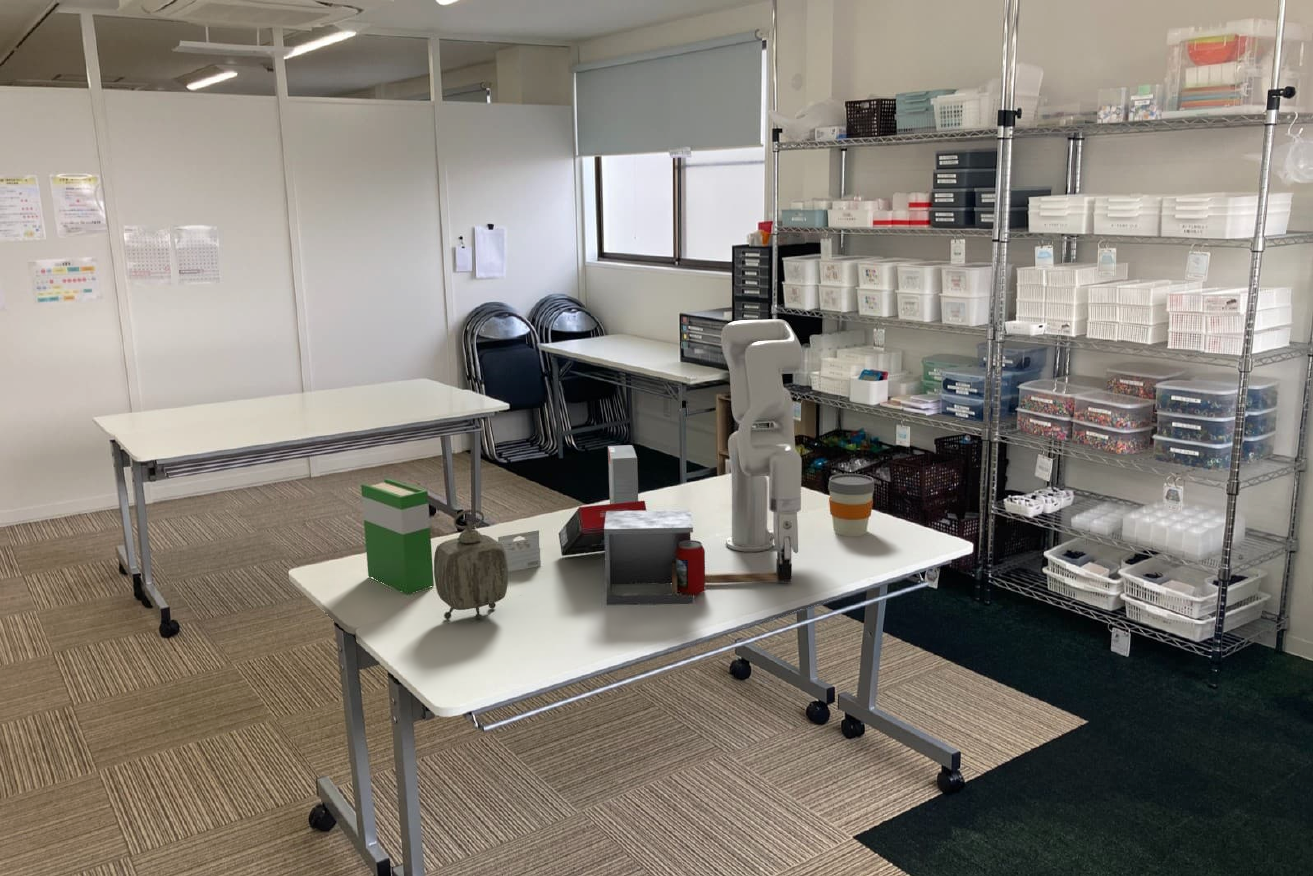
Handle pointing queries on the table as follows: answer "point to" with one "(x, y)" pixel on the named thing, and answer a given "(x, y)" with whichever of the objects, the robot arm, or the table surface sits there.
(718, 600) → the table surface
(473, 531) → the tabletop clock
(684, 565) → the beverage can
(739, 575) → the pull rod
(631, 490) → the hard drive box
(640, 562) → the shelf lane
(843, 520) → the reusable coffee cup
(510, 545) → the ink box
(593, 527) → the graphics card box
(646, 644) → the table surface
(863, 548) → the table surface
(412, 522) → the hardback book
